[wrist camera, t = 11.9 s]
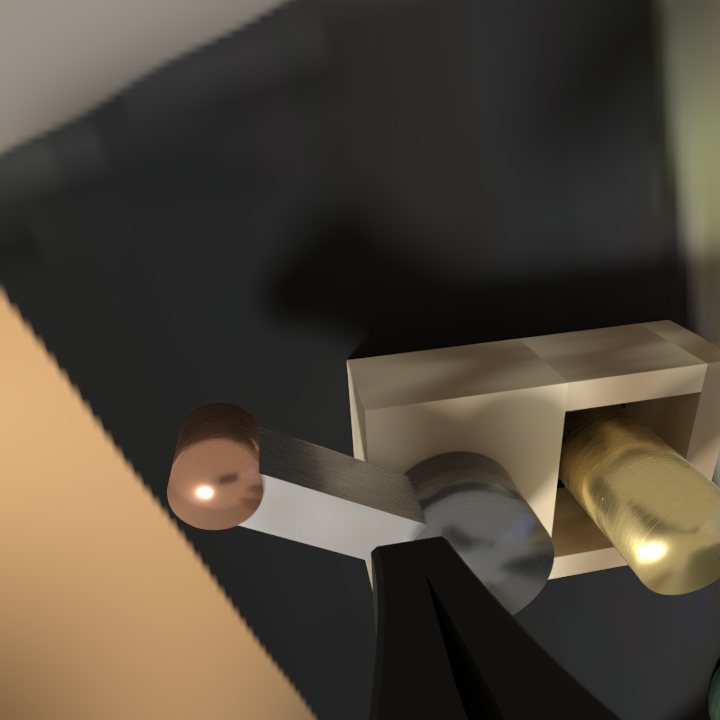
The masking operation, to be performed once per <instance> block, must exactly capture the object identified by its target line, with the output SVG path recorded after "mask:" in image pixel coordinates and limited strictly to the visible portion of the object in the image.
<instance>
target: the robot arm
mask: <svg viewBox="0 0 720 720" xmlns="http://www.w3.org/2000/svg"><path fill="white" fill-rule="evenodd" d="M371 566H372V583H373V600H374V617H375V627H376V633H377V644H376V660H375V670H374V680H373V689H372V698H371V707H370V715H369V720H623V719H622V718H620V717H619V716H618V715H617V714H616V713H614V712H613V711H612V710H611V709H610V708H609V707H607V706H606V705H605V704H604V703H603V702H601V701H600V700H599V699H598V698H597V697H596V696H595V695H593V694H592V693H591V692H590V691H589V690H588V689H587V688H586V687H585V686H583V685H582V684H581V683H580V682H579V681H578V680H577V679H576V678H575V677H574V676H572V675H571V674H570V673H569V672H568V671H567V670H566V669H565V668H564V667H563V666H562V665H561V664H560V663H559V662H558V661H557V660H556V659H555V658H554V657H553V656H551V655H550V654H549V653H548V652H547V651H546V650H545V649H544V648H543V647H542V646H541V645H540V644H539V643H538V642H537V641H536V640H535V639H534V638H533V637H532V636H531V635H530V634H529V633H528V632H527V631H526V630H525V628H524V627H523V626H522V625H521V624H520V623H519V622H518V621H517V620H516V619H515V618H514V617H513V616H512V615H511V614H510V613H509V612H508V611H507V610H506V608H505V607H504V606H503V605H502V604H501V603H500V602H499V601H498V600H497V599H496V598H495V596H494V595H493V594H492V593H491V592H490V591H489V590H488V589H487V587H486V586H485V585H484V584H483V583H482V582H481V580H480V579H479V578H478V577H477V576H476V575H475V574H474V572H473V571H472V570H471V569H470V568H469V566H468V565H467V564H466V563H465V562H464V560H463V559H462V558H461V557H460V555H459V554H458V553H457V552H456V550H455V549H454V548H453V547H452V545H451V544H450V543H449V541H448V540H447V539H445V538H444V537H443V536H438V537H432V538H426V539H420V540H414V541H407V542H401V543H395V544H389V545H383V546H377V547H376V548H375V549H374V550H373V551H372V552H371Z"/></svg>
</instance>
